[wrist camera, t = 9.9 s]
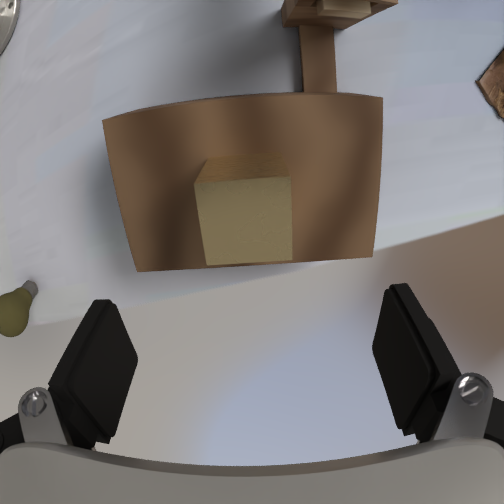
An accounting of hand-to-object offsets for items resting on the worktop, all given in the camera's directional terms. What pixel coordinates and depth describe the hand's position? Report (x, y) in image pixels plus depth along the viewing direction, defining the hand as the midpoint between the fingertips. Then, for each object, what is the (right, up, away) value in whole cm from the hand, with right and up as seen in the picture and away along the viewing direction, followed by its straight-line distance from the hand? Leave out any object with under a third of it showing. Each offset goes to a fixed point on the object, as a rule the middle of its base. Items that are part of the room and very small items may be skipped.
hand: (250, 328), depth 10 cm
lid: (0, +8, +13) cm, 16 cm away
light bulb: (-31, -2, +27) cm, 41 cm away
